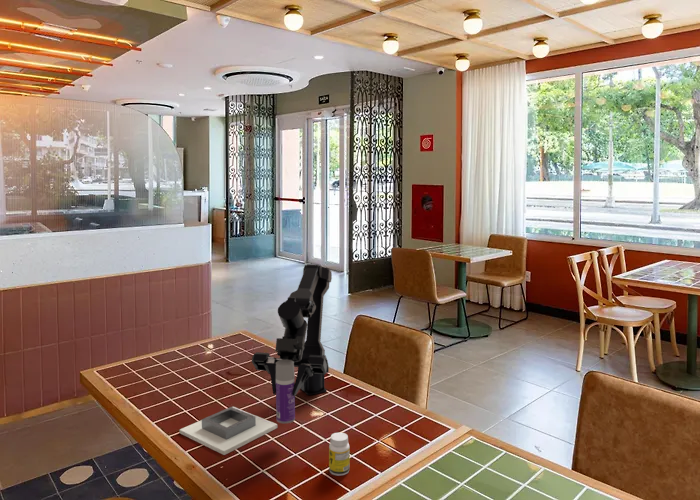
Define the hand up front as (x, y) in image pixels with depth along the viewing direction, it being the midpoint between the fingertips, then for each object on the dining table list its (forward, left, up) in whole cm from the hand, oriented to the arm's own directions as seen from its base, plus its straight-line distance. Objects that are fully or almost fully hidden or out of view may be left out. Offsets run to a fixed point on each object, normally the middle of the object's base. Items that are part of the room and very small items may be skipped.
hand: (283, 394), depth 133 cm
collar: (+10, -14, -13) cm, 22 cm away
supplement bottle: (-7, +17, -13) cm, 23 cm away
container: (-1, -1, -7) cm, 7 cm away
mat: (+10, -14, -13) cm, 22 cm away
